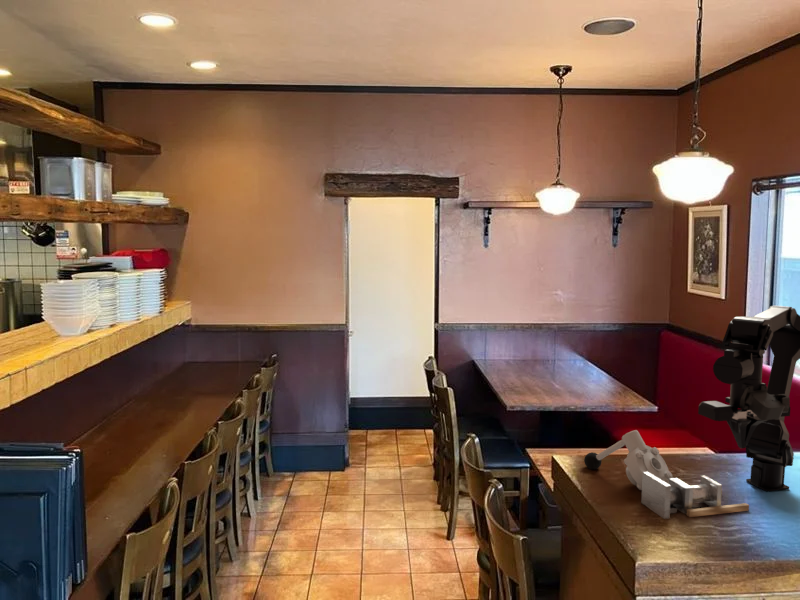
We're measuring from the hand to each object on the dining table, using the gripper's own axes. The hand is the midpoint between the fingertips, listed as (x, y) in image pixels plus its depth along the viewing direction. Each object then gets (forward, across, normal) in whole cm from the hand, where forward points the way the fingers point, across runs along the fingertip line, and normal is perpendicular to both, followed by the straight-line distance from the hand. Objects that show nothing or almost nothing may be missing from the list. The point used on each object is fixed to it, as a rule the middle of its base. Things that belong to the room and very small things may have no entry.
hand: (741, 447), depth 139 cm
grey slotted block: (+13, -9, +2) cm, 16 cm away
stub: (+13, -16, +2) cm, 21 cm away
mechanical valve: (+13, -16, +19) cm, 28 cm away
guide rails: (+13, -7, +2) cm, 15 cm away
